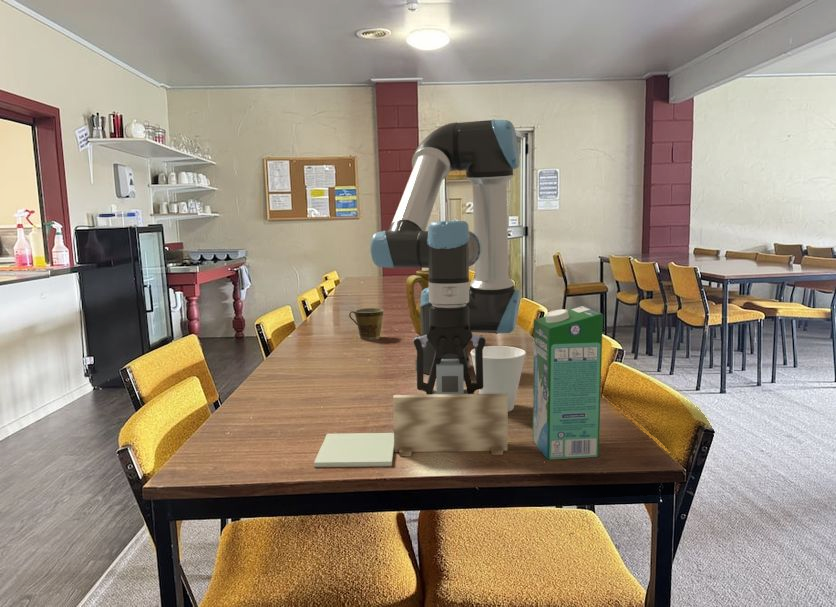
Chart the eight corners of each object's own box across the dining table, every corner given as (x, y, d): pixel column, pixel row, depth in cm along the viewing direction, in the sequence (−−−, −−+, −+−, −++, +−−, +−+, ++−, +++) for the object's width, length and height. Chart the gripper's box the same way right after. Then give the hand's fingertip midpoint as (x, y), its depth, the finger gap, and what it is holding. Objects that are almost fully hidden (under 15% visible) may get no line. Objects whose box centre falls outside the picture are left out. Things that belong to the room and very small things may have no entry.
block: (437, 428, 112) (436, 359, 110) (462, 428, 112) (462, 358, 109) (437, 438, 107) (436, 365, 105) (463, 438, 106) (463, 365, 104)
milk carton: (532, 439, 105) (533, 306, 102) (579, 437, 106) (583, 304, 102) (547, 460, 96) (549, 314, 93) (599, 457, 97) (603, 312, 93)
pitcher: (468, 347, 180) (463, 268, 178) (410, 351, 181) (404, 272, 178) (464, 338, 197) (460, 266, 195) (411, 341, 198) (406, 270, 195)
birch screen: (393, 456, 99) (392, 400, 98) (395, 444, 104) (394, 392, 102) (508, 454, 99) (509, 399, 97) (504, 443, 104) (504, 390, 102)
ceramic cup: (389, 336, 202) (388, 308, 200) (375, 342, 193) (374, 313, 191) (357, 334, 207) (356, 307, 206) (342, 339, 198) (341, 311, 197)
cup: (461, 403, 127) (460, 349, 125) (506, 396, 131) (506, 343, 130) (488, 419, 116) (488, 360, 114) (536, 411, 121) (537, 354, 119)
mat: (314, 467, 95) (313, 462, 95) (327, 437, 108) (327, 433, 108) (391, 466, 95) (391, 461, 95) (395, 436, 108) (395, 432, 108)
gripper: (399, 308, 102) (402, 432, 105) (500, 306, 102) (500, 431, 105) (401, 302, 109) (403, 418, 113) (495, 300, 109) (495, 417, 112)
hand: (450, 424), depth 109 cm, fingers closed on block, 5 cm apart
